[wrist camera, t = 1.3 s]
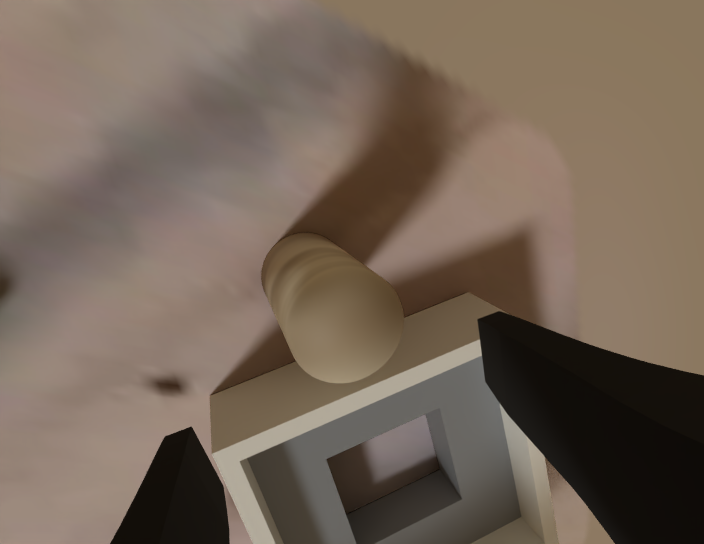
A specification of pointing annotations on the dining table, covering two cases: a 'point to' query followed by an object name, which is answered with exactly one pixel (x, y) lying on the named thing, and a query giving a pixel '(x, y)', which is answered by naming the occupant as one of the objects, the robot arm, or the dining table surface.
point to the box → (377, 418)
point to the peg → (331, 308)
